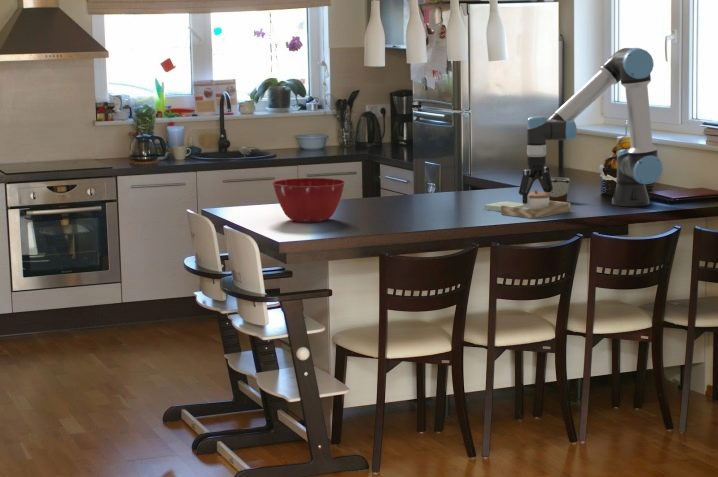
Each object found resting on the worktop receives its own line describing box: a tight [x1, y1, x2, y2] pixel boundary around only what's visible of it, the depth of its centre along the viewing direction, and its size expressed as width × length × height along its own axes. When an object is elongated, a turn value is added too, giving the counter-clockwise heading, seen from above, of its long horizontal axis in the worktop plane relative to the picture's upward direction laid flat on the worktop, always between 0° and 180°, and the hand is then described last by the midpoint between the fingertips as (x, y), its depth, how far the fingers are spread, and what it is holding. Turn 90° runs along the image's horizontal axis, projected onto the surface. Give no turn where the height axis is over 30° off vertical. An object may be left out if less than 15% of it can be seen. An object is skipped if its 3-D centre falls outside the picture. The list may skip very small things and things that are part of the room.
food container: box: [549, 176, 571, 203], centre depth 495 cm, size 12×6×10 cm, turn 84°
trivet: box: [483, 200, 523, 213], centre depth 475 cm, size 13×13×2 cm
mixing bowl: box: [272, 177, 346, 224], centre depth 454 cm, size 28×28×15 cm
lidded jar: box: [528, 189, 550, 209], centre depth 464 cm, size 11×11×9 cm
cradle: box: [500, 201, 571, 219], centre depth 464 cm, size 16×23×4 cm
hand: (535, 209), depth 464 cm, fingers open, 11 cm apart
